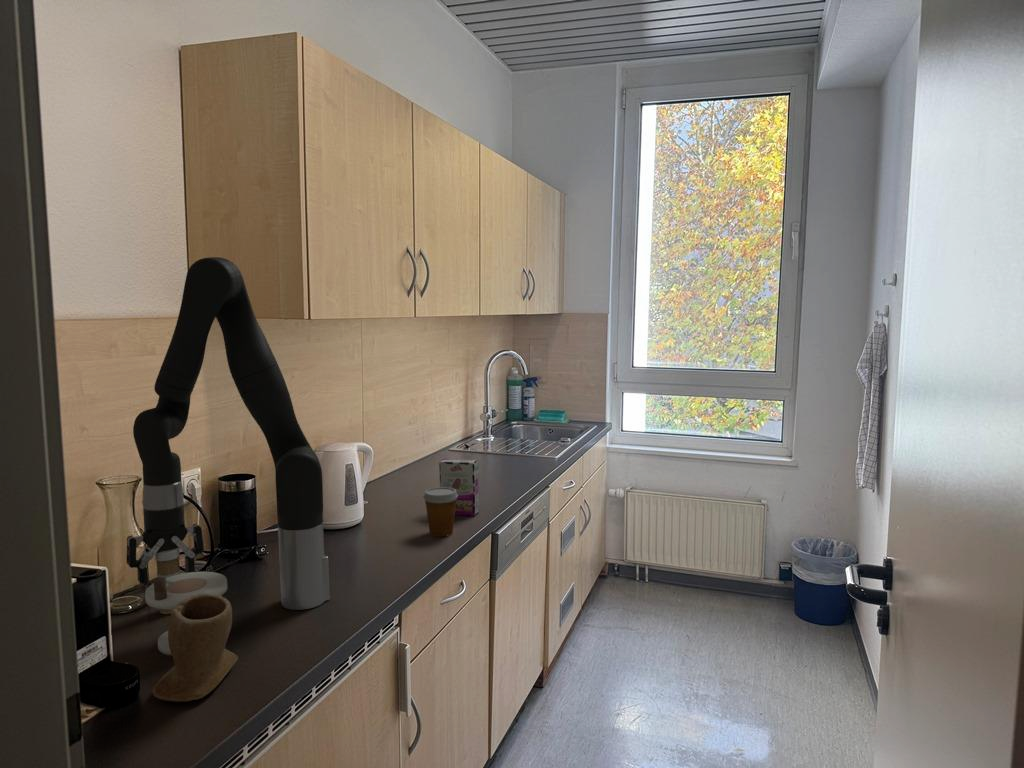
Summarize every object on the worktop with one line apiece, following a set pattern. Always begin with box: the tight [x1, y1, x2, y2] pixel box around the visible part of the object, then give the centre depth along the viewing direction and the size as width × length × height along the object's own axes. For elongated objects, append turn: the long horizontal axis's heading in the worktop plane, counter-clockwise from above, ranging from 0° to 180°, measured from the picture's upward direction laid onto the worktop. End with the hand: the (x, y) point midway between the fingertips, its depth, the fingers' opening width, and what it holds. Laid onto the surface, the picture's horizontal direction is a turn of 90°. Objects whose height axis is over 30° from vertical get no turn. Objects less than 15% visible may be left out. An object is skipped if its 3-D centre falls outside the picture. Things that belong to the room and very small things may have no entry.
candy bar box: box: [438, 458, 480, 517], centre depth 214 cm, size 11×5×16 cm, turn 76°
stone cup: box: [152, 594, 239, 703], centre depth 119 cm, size 15×12×15 cm
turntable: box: [144, 571, 228, 610], centre depth 133 cm, size 14×14×5 cm
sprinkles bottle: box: [154, 547, 182, 615], centre depth 147 cm, size 5×5×14 cm
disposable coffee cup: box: [423, 486, 458, 537], centre depth 196 cm, size 10×10×12 cm
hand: (167, 579), depth 147 cm, fingers open, 8 cm apart
